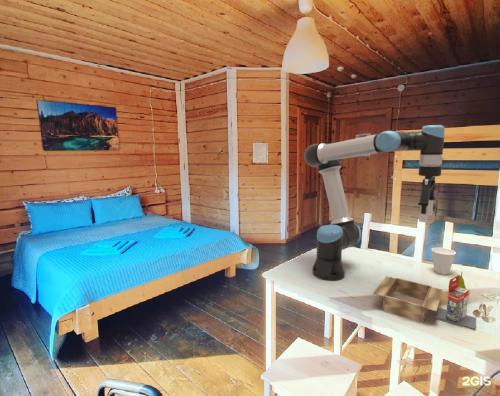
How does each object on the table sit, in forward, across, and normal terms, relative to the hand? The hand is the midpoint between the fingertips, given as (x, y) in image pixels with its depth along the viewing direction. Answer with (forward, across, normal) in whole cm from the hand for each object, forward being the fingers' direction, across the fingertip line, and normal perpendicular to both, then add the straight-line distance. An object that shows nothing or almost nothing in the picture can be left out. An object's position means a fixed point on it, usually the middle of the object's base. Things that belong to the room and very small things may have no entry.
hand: (425, 218), depth 117 cm
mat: (+32, -15, -14) cm, 38 cm away
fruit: (+32, +1, -13) cm, 34 cm away
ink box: (+31, -15, -13) cm, 37 cm away
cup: (+32, +28, -5) cm, 43 cm away
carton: (+32, -15, +2) cm, 35 cm away
